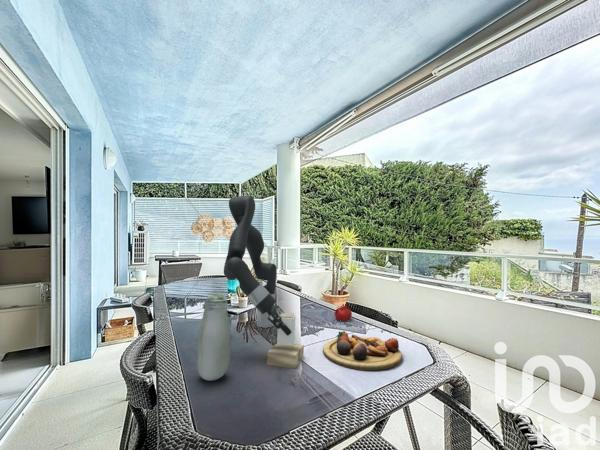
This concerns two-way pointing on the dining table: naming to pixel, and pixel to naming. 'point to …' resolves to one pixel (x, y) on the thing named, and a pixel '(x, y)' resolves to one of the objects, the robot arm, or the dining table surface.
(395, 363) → the wooden plate with food
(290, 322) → the white square container
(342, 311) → the pomegranate
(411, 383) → the dining table surface
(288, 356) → the pale gold metal block
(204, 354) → the glass bottle
